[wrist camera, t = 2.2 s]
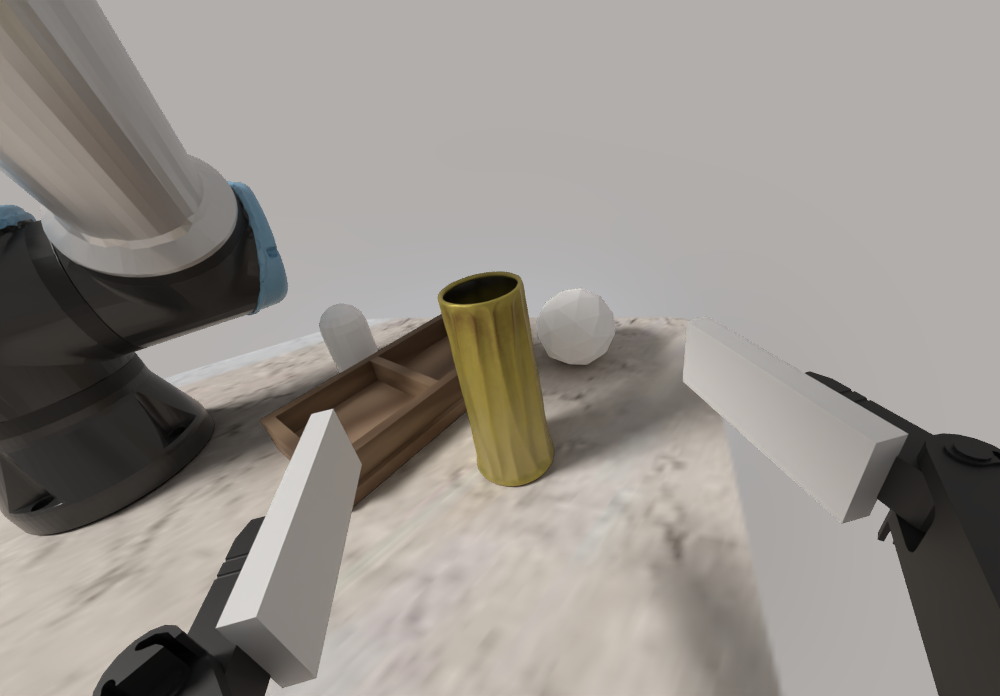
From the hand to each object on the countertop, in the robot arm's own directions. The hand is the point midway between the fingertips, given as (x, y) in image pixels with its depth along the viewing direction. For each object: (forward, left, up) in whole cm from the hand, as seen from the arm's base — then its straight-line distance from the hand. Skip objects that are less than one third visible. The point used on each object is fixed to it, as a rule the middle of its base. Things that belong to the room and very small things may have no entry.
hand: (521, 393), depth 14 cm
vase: (-8, +6, -14) cm, 17 cm away
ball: (-11, +21, -14) cm, 27 cm away
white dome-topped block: (-35, +8, -14) cm, 38 cm away
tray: (-22, +7, -14) cm, 27 cm away
